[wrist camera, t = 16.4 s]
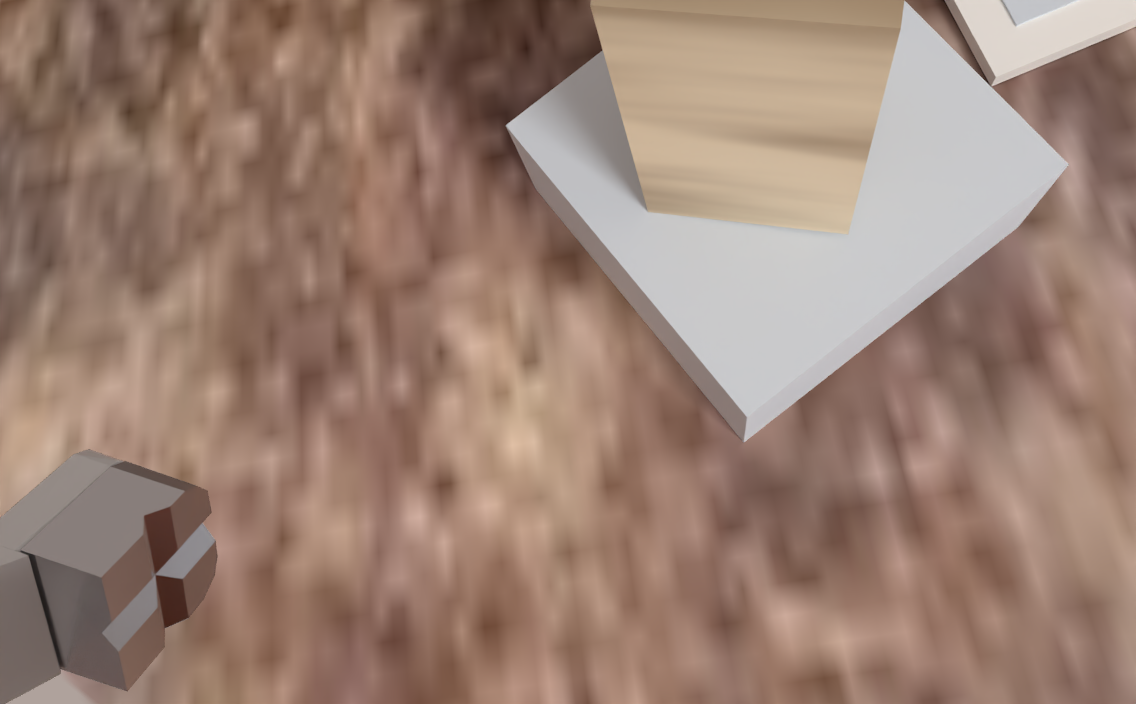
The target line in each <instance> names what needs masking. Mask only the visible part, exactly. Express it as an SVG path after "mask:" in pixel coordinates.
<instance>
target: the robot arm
mask: <svg viewBox="0 0 1136 704" xmlns="http://www.w3.org/2000/svg"><path fill="white" fill-rule="evenodd" d="M211 513H212V512H211V506H210V501H209V496H208V491H207V490H205V489H202V488H200V487H198V486H195V485H193V484H190V483H187V482H184V481H181V480H178V479H175V478H172V477H170V476H167V475H164V474H161V473H158V472H155V471H152V470H149V469H147V468H144V467H141V466H138V465H135V464H132V463H129V462H126V461H122V460H119V459H116V458H113V457H111V456H108V455H105V454H102V453H99V452H96V451H93V450H90V449H88V450H85V451H82V452H79V453H76V454H74V455H72V456H71V457H70V458H69V459H68V460H66V461H65V462H64V463H63V464H62V465H61V466H59V467H58V468H57V469H56V470H55V471H54V472H53V473H51V474H50V475H49V476H48V477H47V478H46V479H44V480H43V481H42V482H41V483H40V484H39V485H37V486H36V487H35V488H34V489H33V490H32V491H31V492H29V493H28V494H27V495H26V496H25V497H24V498H22V499H21V500H20V501H19V502H18V503H17V504H16V505H14V506H13V507H12V508H11V509H10V510H9V511H7V512H6V513H5V514H4V515H3V516H2V517H1V518H0V704H6V703H7V702H9V701H11V700H13V699H15V698H17V697H19V696H21V695H22V694H24V693H26V692H28V691H30V690H32V689H34V688H35V687H37V686H39V685H41V684H43V683H44V682H47V681H48V680H50V679H52V678H54V677H56V676H58V675H60V674H61V670H60V669H62V670H65V671H68V672H71V673H74V674H77V675H80V676H83V677H86V678H89V679H92V680H95V681H98V682H100V683H103V684H106V685H109V686H112V687H115V688H118V689H121V690H124V691H128V690H129V689H130V688H131V687H132V685H133V684H134V683H135V682H136V681H137V679H138V678H139V677H140V676H141V675H142V673H143V672H144V671H145V670H146V669H147V668H148V666H149V665H150V664H151V663H152V662H153V660H154V659H155V658H156V657H157V656H158V654H159V653H160V652H161V651H162V650H163V648H164V647H165V628H167V627H169V626H172V625H174V624H176V623H179V622H181V621H183V620H186V619H188V618H189V617H190V616H191V615H192V613H193V612H194V611H195V610H196V608H197V607H198V606H199V605H200V603H201V602H202V601H203V600H204V598H205V596H206V593H207V591H208V589H209V587H210V585H211V582H212V580H213V578H214V576H215V570H216V563H217V549H216V541H215V539H214V538H213V537H212V535H211V534H210V533H209V531H208V530H207V529H206V527H205V526H204V525H203V522H204V520H205V519H206V518H207V517H208V516H209V515H210V514H211Z"/></svg>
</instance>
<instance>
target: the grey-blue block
mask: <svg viewBox="0 0 1136 704" xmlns="http://www.w3.org/2000/svg"><path fill="white" fill-rule="evenodd" d="M506 127H507V130H508V132H509V134H510V136H511V138H512V140H513V142H514V144H515V146H516V149H517V151H518V153H519V155H520V157H521V159H522V161H523V163H524V166H525V168H526V170H527V172H528V174H529V176H530V178H531V180H532V182H533V185H534V187H535V189H536V190H537V191H538V192H539V194H540V195H541V196H542V197H543V199H544V200H545V201H546V202H547V203H548V205H549V206H550V207H551V208H552V210H553V211H554V212H555V213H556V214H557V216H558V217H559V218H560V219H561V221H562V222H563V223H564V224H565V225H566V227H567V228H568V229H569V230H570V231H571V233H572V234H573V235H574V236H575V238H576V239H577V240H578V241H579V242H580V244H581V245H582V246H583V247H584V249H585V250H586V251H587V252H588V253H589V255H590V256H591V257H592V258H593V260H594V261H595V262H596V263H597V264H598V266H599V267H600V268H601V269H602V270H603V272H604V273H605V274H606V275H607V277H608V278H609V279H610V280H611V281H612V283H613V284H614V285H615V286H616V288H617V289H618V290H619V291H620V292H621V294H622V295H623V296H624V297H625V299H626V300H627V301H628V302H629V303H630V305H631V306H632V307H633V308H634V309H635V311H636V312H637V313H638V314H639V316H640V317H641V318H642V319H643V320H644V322H645V323H646V324H647V325H648V327H649V328H650V329H651V330H652V331H653V333H654V334H655V335H656V336H657V338H658V339H659V340H660V341H661V342H662V344H663V345H664V346H665V347H666V348H667V350H668V351H669V352H670V353H671V355H672V356H673V357H674V358H675V359H676V361H677V362H678V363H679V364H680V366H681V367H682V368H683V369H684V370H685V372H686V373H687V374H688V375H689V377H690V378H691V379H692V380H693V381H694V383H695V384H696V385H697V386H698V387H699V389H700V390H701V391H702V392H703V394H704V395H705V396H706V397H707V398H708V400H709V401H710V402H711V403H712V405H713V406H714V407H715V408H716V409H717V411H718V412H719V413H720V414H721V416H722V417H723V418H724V419H725V420H726V422H727V423H728V424H729V425H730V426H731V428H732V429H733V430H734V431H735V433H736V434H737V435H738V436H739V437H740V439H741V440H742V441H743V442H745V441H746V440H748V439H749V438H750V437H751V436H753V435H754V434H755V433H756V432H758V431H759V430H760V429H762V428H763V427H764V426H765V425H767V424H768V423H769V422H770V421H772V420H773V419H774V418H776V417H777V416H778V415H779V414H781V413H782V412H783V411H784V410H786V409H787V408H788V407H790V406H791V405H792V404H793V403H795V402H796V401H797V400H799V399H800V398H801V397H802V396H804V395H805V394H806V393H807V392H809V391H810V390H811V389H813V388H814V387H815V386H816V385H818V384H819V383H820V382H821V381H823V380H824V379H825V378H827V377H828V376H829V375H830V374H832V373H833V372H834V371H835V370H837V369H838V368H839V367H841V366H842V365H843V364H844V363H846V362H847V361H848V360H849V359H851V358H852V357H853V356H855V355H856V354H857V353H858V352H860V351H861V350H862V349H863V348H865V347H866V346H867V345H869V344H870V343H871V342H872V341H874V340H875V339H876V338H877V337H879V336H880V335H881V334H883V333H884V332H885V331H886V330H888V329H889V328H890V327H891V326H893V325H894V324H895V323H897V322H898V321H899V320H900V319H902V318H903V317H904V316H905V315H907V314H908V313H909V312H911V311H912V310H913V309H914V308H916V307H917V306H918V305H919V304H921V303H922V302H923V301H925V300H926V299H927V298H928V297H930V296H931V295H932V294H933V293H935V292H936V291H937V290H939V289H940V288H941V287H942V286H944V285H945V284H946V283H947V282H949V281H950V280H951V279H953V278H954V277H955V276H956V275H958V274H959V273H960V272H961V271H963V270H964V269H965V268H967V267H968V266H969V265H970V264H972V263H973V262H974V261H975V260H977V259H978V258H979V257H981V256H982V255H983V254H984V253H986V252H987V251H988V250H989V249H991V248H992V247H993V246H995V245H996V244H997V243H998V242H1000V241H1001V240H1002V239H1003V238H1005V237H1006V236H1007V235H1009V234H1010V233H1011V232H1012V231H1014V230H1015V229H1016V228H1017V227H1019V225H1020V224H1021V223H1022V222H1023V220H1024V219H1025V218H1026V217H1027V215H1028V214H1029V213H1030V212H1031V211H1032V209H1033V208H1034V207H1035V206H1036V204H1037V203H1038V202H1039V201H1040V199H1041V198H1042V197H1043V196H1044V195H1045V193H1046V192H1047V191H1048V190H1049V188H1050V187H1051V186H1052V185H1053V183H1054V182H1055V181H1056V180H1057V179H1058V177H1059V176H1060V175H1061V174H1062V172H1063V171H1064V170H1065V169H1066V168H1067V166H1068V165H1069V164H1068V163H1067V162H1066V161H1065V160H1064V159H1063V158H1062V157H1061V156H1060V155H1059V154H1058V153H1057V152H1056V151H1055V150H1054V149H1053V148H1052V147H1051V146H1050V145H1049V144H1048V143H1047V142H1046V141H1045V140H1044V139H1043V138H1042V137H1041V136H1040V135H1039V134H1038V133H1037V132H1036V131H1035V130H1034V129H1033V128H1032V127H1031V126H1030V125H1029V124H1028V123H1027V122H1026V121H1025V120H1024V119H1023V118H1022V117H1021V116H1020V115H1019V114H1018V113H1017V112H1016V111H1015V110H1014V109H1013V108H1012V107H1011V106H1010V105H1009V104H1008V103H1007V102H1006V101H1005V100H1004V99H1003V98H1002V97H1001V96H1000V95H999V94H998V93H997V92H996V91H995V90H994V89H993V88H992V87H991V86H990V85H989V84H988V83H987V82H986V81H985V80H984V79H983V78H982V77H981V76H980V75H979V74H978V73H977V72H976V71H975V70H974V69H973V68H972V67H971V66H970V65H969V64H968V63H967V62H966V61H965V60H964V59H963V58H962V57H961V56H960V55H959V54H958V53H957V52H956V51H955V50H954V49H953V48H952V47H951V46H950V45H949V44H948V43H947V42H946V41H945V40H944V39H943V38H942V37H941V36H940V35H939V34H938V33H937V32H936V31H935V30H934V29H933V28H931V27H930V26H929V25H928V24H927V23H926V22H925V21H924V20H923V19H922V18H921V17H920V16H919V15H918V14H917V13H916V12H915V11H914V10H913V9H912V8H911V7H910V6H909V5H908V4H907V3H906V2H905V1H904V7H903V15H902V23H901V30H900V33H899V37H898V41H897V45H896V49H895V53H894V57H893V61H892V65H891V69H890V73H889V77H888V80H887V84H886V88H885V92H884V96H883V100H882V104H881V108H880V112H879V116H878V120H877V124H876V127H875V131H874V135H873V139H872V143H871V147H870V151H869V155H868V159H867V163H866V167H865V171H864V174H863V178H862V182H861V186H860V190H859V194H858V198H857V202H856V206H855V210H854V214H853V218H852V221H851V225H850V229H849V233H848V234H840V233H831V232H822V231H813V230H804V229H795V228H786V227H777V226H769V225H760V224H751V223H742V222H733V221H724V220H715V219H706V218H697V217H688V216H680V215H671V214H662V213H653V212H648V210H647V206H646V203H645V199H644V196H643V192H642V188H641V185H640V181H639V178H638V174H637V171H636V167H635V163H634V160H633V156H632V153H631V149H630V146H629V142H628V138H627V135H626V131H625V128H624V124H623V121H622V117H621V113H620V110H619V106H618V103H617V99H616V96H615V92H614V88H613V85H612V81H611V78H610V74H609V71H608V67H607V64H606V60H605V56H604V53H603V50H602V51H601V52H600V53H599V54H597V55H596V56H595V57H593V58H592V59H591V60H590V61H588V62H587V63H586V64H584V65H583V66H582V67H580V68H579V69H578V70H577V71H575V72H574V73H573V74H571V75H570V76H569V77H568V78H566V79H565V80H564V81H562V82H561V83H560V84H558V85H557V86H556V87H555V88H553V89H552V90H551V91H549V92H548V93H547V94H546V95H544V96H543V97H542V98H540V99H539V100H538V101H537V102H535V103H534V104H533V105H531V106H530V107H529V108H527V109H526V110H525V111H524V112H522V113H521V114H520V115H518V116H517V117H516V118H515V119H513V120H512V121H511V122H509V123H508V124H507V125H506Z"/></svg>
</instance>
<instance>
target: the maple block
mask: <svg viewBox="0 0 1136 704" xmlns="http://www.w3.org/2000/svg"><path fill="white" fill-rule="evenodd" d="M590 6H591V10H592V14H593V17H594V21H595V24H596V28H597V31H598V35H599V39H600V42H601V46H602V49H603V53H604V56H605V60H606V64H607V67H608V71H609V74H610V78H611V81H612V85H613V88H614V92H615V96H616V99H617V103H618V106H619V110H620V113H621V117H622V121H623V124H624V128H625V131H626V135H627V138H628V142H629V146H630V149H631V153H632V156H633V160H634V163H635V167H636V171H637V174H638V178H639V181H640V185H641V188H642V192H643V196H644V199H645V203H646V206H647V210H648V212H653V213H662V214H671V215H680V216H688V217H697V218H706V219H715V220H724V221H733V222H742V223H751V224H760V225H769V226H777V227H786V228H795V229H804V230H813V231H822V232H831V233H840V234H848V233H849V229H850V225H851V221H852V218H853V214H854V210H855V206H856V202H857V198H858V194H859V190H860V186H861V182H862V178H863V174H864V171H865V167H866V163H867V159H868V155H869V151H870V147H871V143H872V139H873V135H874V131H875V127H876V124H877V120H878V116H879V112H880V108H881V104H882V100H883V96H884V92H885V88H886V84H887V80H888V77H889V73H890V69H891V65H892V61H893V57H894V53H895V49H896V45H897V41H898V37H899V33H900V30H901V23H902V15H903V7H904V0H591V4H590Z"/></svg>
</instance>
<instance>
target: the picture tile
mask: <svg viewBox="0 0 1136 704" xmlns="http://www.w3.org/2000/svg"><path fill="white" fill-rule="evenodd" d="M944 1H945V2H946V4H947V6H948V8H949V10H950V12H951V14H952V15H953V17H954V19H955V21H956V23H957V25H958V26H959V28H960V30H961V32H962V34H963V36H964V38H965V39H966V41H967V43H968V45H969V47H970V49H971V51H972V52H973V54H974V56H975V58H976V60H977V62H978V63H979V65H980V67H981V69H982V71H983V73H984V75H985V76H986V78H987V80H988V82H989V84H990V86H994V85H996V84H998V83H1001V82H1003V81H1006V80H1008V79H1011V78H1013V77H1015V76H1018V75H1020V74H1023V73H1025V72H1027V71H1030V70H1032V69H1035V68H1037V67H1040V66H1042V65H1044V64H1047V63H1049V62H1052V61H1054V60H1056V59H1059V58H1061V57H1064V56H1066V55H1068V54H1071V53H1073V52H1076V51H1078V50H1081V49H1083V48H1085V47H1088V46H1090V45H1093V44H1095V43H1097V42H1100V41H1102V40H1105V39H1107V38H1110V37H1112V36H1114V35H1117V34H1119V33H1122V32H1124V31H1126V30H1129V29H1131V28H1134V27H1136V0H944Z"/></svg>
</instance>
